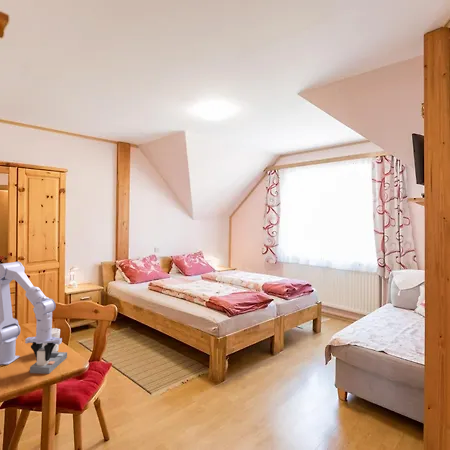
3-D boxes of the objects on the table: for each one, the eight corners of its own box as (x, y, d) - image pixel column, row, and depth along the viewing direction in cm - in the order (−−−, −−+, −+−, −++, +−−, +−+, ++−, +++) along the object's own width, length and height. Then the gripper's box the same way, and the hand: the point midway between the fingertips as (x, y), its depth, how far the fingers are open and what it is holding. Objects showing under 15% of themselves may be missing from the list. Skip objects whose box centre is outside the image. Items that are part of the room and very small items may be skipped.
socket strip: (29, 372, 130) (30, 365, 130) (49, 357, 145) (49, 350, 145) (49, 373, 130) (49, 366, 130) (67, 357, 145) (67, 351, 145)
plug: (36, 370, 132) (37, 349, 132) (41, 366, 135) (41, 346, 135) (44, 370, 132) (44, 349, 132) (48, 366, 135) (49, 346, 135)
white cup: (42, 349, 153) (43, 328, 153) (60, 347, 156) (61, 327, 156) (39, 355, 146) (40, 334, 146) (58, 353, 149) (58, 333, 149)
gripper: (21, 331, 129) (20, 363, 130) (56, 332, 130) (55, 364, 130) (31, 325, 137) (30, 356, 137) (64, 326, 137) (63, 357, 137)
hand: (43, 359), depth 134 cm, fingers closed on plug, 3 cm apart
